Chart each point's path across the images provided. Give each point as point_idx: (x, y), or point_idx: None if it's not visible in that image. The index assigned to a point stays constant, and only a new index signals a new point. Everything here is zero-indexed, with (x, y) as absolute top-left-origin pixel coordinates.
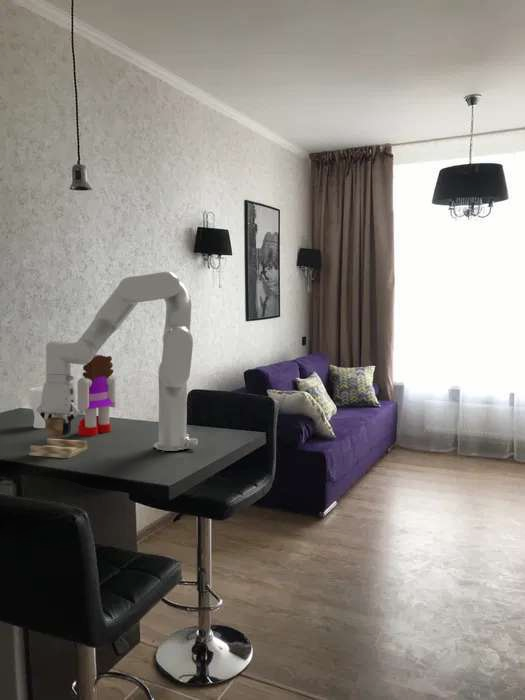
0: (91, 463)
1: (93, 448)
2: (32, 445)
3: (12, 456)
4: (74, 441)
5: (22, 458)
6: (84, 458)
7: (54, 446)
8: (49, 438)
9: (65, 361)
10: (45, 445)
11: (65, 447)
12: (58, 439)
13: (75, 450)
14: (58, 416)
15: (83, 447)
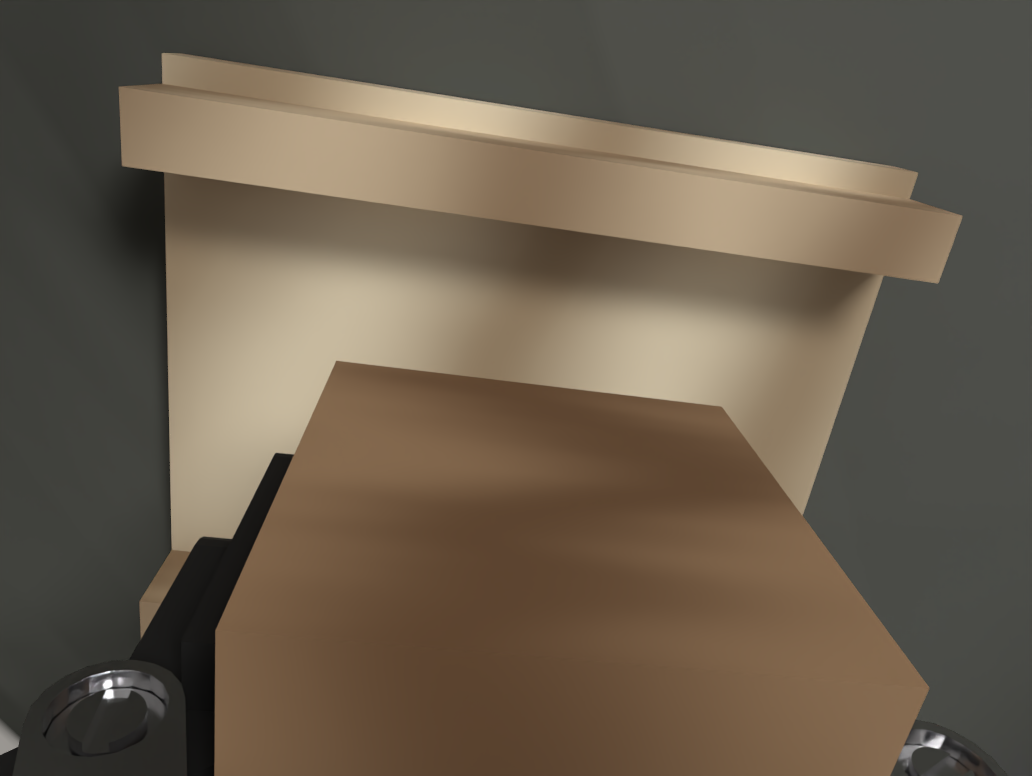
0: (1024, 758)
1: (986, 117)
2: (151, 606)
3: (20, 653)
4: (731, 252)
5: None
6: (924, 617)
7: (372, 280)
8: (135, 89)
9: None
10: (183, 232)
11: (579, 319)
12: (369, 154)
13: (783, 461)
14: (426, 696)
15: (869, 281)
